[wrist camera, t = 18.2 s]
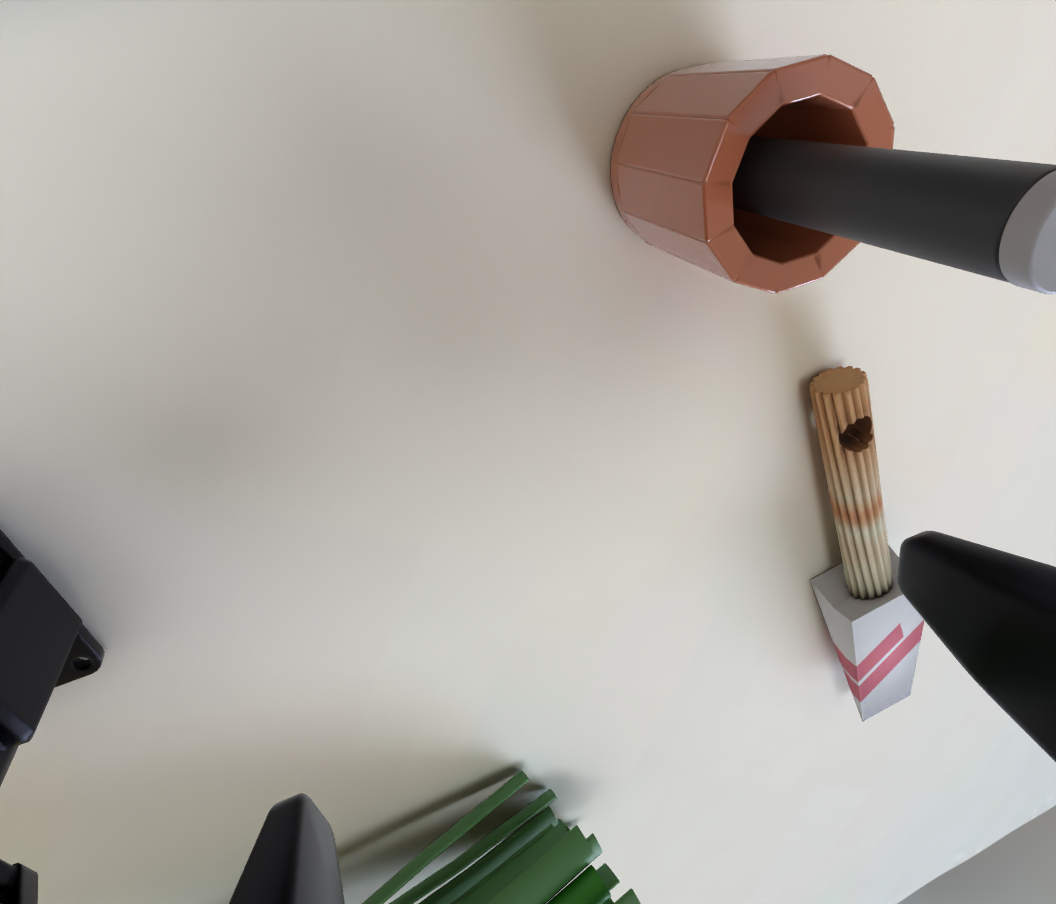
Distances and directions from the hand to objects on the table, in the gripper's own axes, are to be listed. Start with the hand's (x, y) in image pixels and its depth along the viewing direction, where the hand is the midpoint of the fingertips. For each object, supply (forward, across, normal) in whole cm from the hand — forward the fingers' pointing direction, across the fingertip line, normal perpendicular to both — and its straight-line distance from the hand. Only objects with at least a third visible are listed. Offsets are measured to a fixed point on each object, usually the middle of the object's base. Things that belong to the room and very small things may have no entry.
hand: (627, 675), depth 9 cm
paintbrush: (+12, -14, +14) cm, 23 cm away
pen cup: (+12, -8, -4) cm, 15 cm away
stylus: (+11, -8, -4) cm, 14 cm away
